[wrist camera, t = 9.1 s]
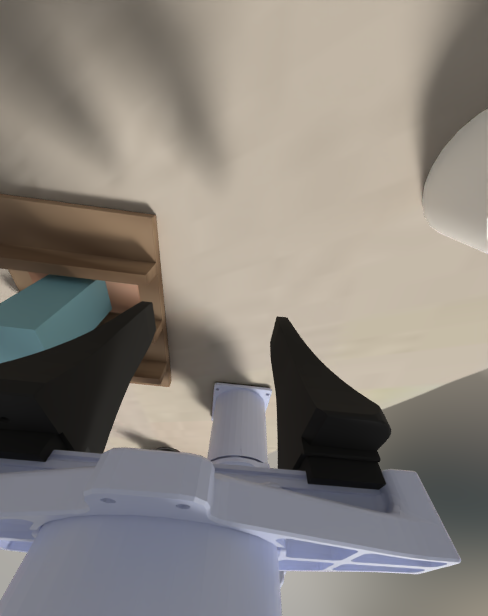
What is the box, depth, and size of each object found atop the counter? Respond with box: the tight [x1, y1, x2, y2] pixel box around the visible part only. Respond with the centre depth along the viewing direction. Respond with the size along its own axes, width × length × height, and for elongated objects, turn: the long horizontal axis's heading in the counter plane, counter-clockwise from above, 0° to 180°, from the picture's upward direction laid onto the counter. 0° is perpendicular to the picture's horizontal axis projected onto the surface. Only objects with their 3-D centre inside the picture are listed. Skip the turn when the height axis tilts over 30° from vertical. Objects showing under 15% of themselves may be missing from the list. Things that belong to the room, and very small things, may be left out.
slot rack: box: [0, 194, 171, 387], centre depth 23 cm, size 22×14×4 cm, turn 173°
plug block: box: [0, 274, 112, 363], centre depth 19 cm, size 4×4×8 cm
